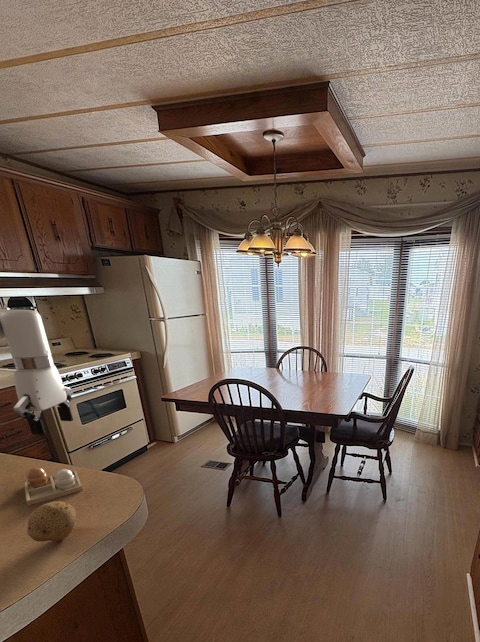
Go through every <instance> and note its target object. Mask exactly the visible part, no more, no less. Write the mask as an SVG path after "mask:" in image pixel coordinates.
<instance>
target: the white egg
mask: <svg viewBox="0 0 480 642" xmlns="http://www.w3.org/2000/svg"><path fill="white" fill-rule="evenodd" d="M71 471H72V470H70V469H67V468H62V469H59V470H57V471H56V472H55V474H54V475H55V476H54V478H55V482H56V485H57V487H58V488H59V489H61V490H62V491H63V490H67V489H70V488H73V486H74V484H75V479H74V476H73V473H72V472H71Z"/></svg>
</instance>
